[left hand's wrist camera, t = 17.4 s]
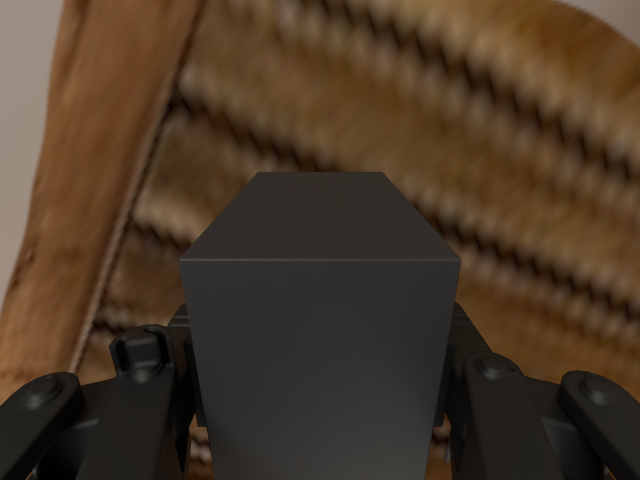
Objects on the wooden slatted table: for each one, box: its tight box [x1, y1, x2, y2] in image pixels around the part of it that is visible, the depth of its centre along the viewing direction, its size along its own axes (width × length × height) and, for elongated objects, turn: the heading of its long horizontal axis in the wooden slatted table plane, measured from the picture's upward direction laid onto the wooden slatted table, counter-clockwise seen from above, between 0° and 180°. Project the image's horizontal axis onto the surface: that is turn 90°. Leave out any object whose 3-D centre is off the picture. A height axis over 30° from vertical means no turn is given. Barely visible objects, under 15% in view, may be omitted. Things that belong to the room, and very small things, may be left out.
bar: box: [179, 172, 461, 480], centre depth 14 cm, size 22×5×8 cm, turn 0°
